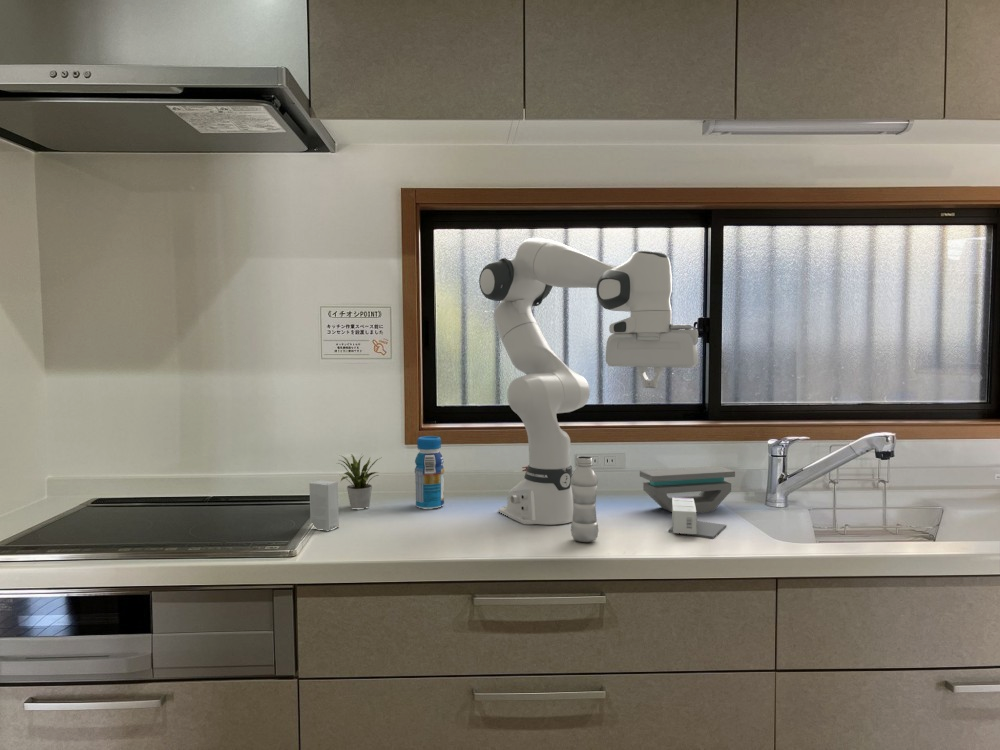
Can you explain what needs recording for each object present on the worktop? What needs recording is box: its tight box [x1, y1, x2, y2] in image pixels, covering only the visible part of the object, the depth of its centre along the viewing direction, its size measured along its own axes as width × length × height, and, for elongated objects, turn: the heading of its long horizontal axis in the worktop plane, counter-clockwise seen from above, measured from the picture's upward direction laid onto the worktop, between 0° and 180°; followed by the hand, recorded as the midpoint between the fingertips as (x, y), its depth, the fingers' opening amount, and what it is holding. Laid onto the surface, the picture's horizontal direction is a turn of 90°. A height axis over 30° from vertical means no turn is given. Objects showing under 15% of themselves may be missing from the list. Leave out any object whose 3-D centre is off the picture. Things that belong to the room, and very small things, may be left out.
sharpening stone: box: [639, 465, 736, 513], centre depth 188 cm, size 25×8×11 cm, turn 103°
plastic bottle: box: [570, 455, 599, 543], centre depth 159 cm, size 6×7×20 cm
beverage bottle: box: [414, 435, 445, 509], centre depth 193 cm, size 8×8×20 cm
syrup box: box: [671, 498, 698, 535], centre depth 169 cm, size 6×6×14 cm
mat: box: [667, 520, 727, 539], centre depth 168 cm, size 12×11×1 cm
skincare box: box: [308, 479, 340, 530], centre depth 171 cm, size 6×4×12 cm
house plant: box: [337, 453, 381, 509], centre depth 192 cm, size 14×14×16 cm
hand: (650, 387), depth 147 cm, fingers closed
